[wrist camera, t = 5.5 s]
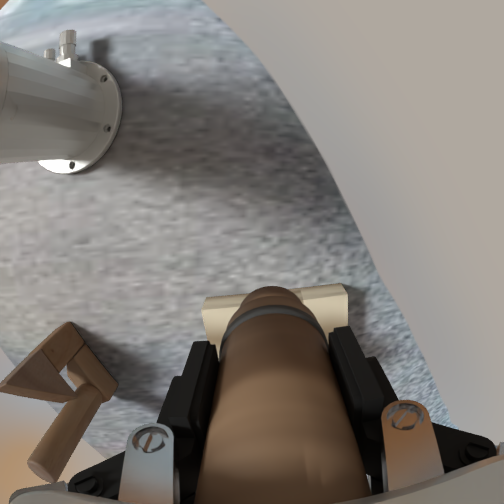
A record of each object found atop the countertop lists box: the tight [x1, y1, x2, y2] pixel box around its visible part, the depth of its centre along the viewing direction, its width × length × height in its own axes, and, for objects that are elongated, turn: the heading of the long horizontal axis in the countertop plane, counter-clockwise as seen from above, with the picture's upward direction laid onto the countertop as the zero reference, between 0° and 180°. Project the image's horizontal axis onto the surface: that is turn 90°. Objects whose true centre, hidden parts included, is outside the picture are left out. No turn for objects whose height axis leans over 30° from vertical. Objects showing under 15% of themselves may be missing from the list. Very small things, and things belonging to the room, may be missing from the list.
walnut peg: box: [194, 286, 372, 504], centre depth 9 cm, size 4×4×12 cm
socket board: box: [201, 283, 348, 358], centre depth 34 cm, size 20×14×3 cm
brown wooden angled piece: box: [0, 322, 118, 483], centre depth 27 cm, size 4×11×18 cm, turn 30°
